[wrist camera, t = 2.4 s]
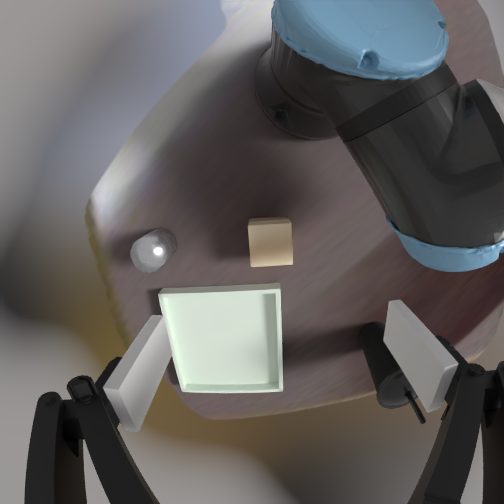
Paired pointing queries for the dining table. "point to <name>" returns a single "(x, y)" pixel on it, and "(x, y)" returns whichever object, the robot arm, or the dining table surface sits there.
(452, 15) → the dining table surface
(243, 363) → the tray
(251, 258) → the beech block
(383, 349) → the drinking cup
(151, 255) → the cylinder
